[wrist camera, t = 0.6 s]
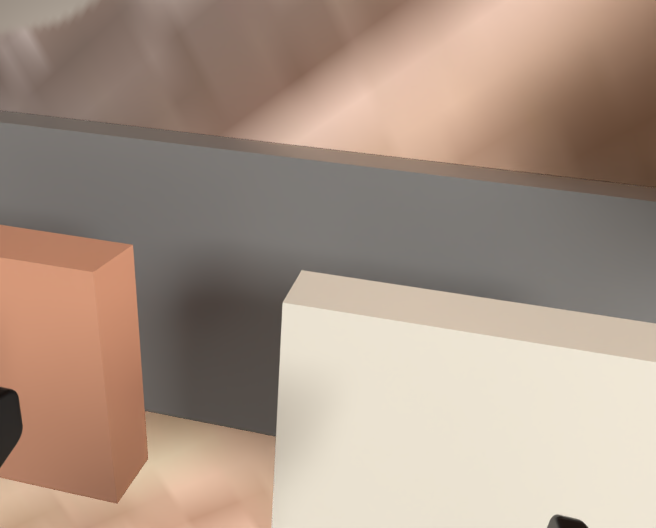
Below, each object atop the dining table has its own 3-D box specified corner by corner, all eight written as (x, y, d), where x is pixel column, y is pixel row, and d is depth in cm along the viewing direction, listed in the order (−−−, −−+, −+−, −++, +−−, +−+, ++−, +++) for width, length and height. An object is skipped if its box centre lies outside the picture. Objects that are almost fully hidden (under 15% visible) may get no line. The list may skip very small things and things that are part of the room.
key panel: (611, 468, 23) (626, 505, 22) (-21, 349, 28) (-53, 371, 26) (713, 194, 18) (742, 212, 17) (-72, 101, 23) (-116, 108, 21)
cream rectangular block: (623, 521, 18) (660, 625, 15) (298, 456, 20) (271, 537, 17) (708, 307, 15) (779, 382, 12) (313, 250, 17) (282, 302, 13)
